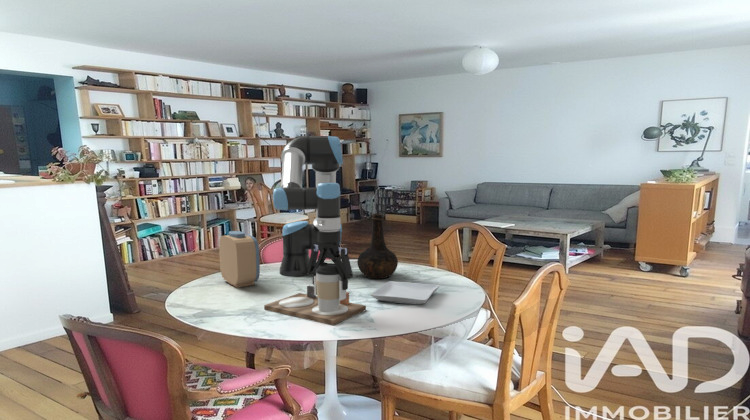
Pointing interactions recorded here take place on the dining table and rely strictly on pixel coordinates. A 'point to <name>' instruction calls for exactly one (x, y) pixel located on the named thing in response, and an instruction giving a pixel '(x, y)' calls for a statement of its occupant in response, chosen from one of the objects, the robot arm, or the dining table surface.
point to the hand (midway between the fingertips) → (330, 296)
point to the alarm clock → (239, 259)
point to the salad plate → (405, 292)
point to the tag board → (314, 308)
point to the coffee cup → (327, 287)
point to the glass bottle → (377, 254)
